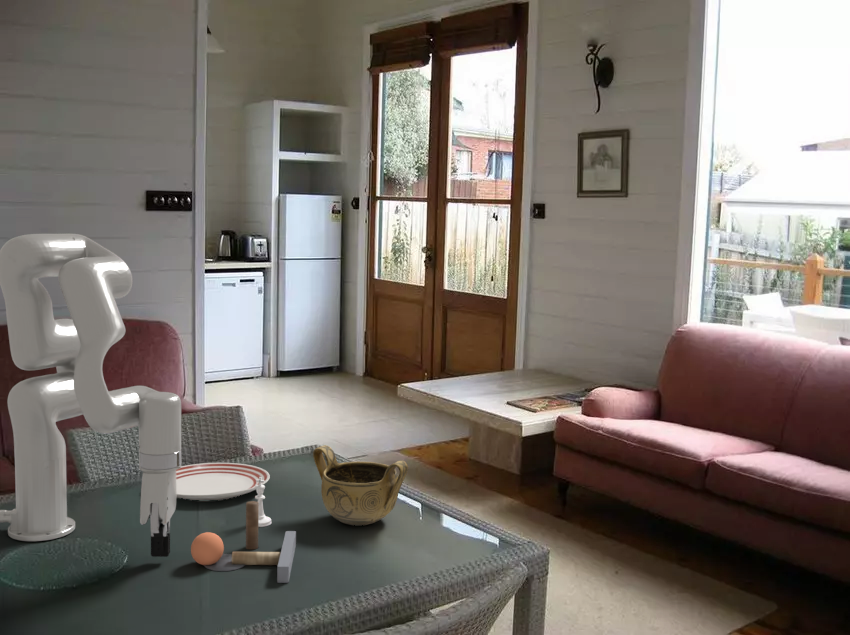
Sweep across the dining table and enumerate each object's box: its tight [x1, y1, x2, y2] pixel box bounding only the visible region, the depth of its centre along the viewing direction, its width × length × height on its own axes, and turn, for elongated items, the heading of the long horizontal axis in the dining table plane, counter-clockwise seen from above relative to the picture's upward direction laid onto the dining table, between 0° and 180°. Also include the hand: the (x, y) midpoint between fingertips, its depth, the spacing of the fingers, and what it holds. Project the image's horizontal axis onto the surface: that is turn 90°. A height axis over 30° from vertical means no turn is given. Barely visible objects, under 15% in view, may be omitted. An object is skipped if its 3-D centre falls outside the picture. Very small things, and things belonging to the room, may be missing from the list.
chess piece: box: [254, 477, 272, 528], centre depth 196 cm, size 5×5×10 cm
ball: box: [190, 531, 225, 566], centre depth 173 cm, size 6×6×6 cm
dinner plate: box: [176, 462, 271, 501], centre depth 218 cm, size 27×27×3 cm
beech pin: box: [231, 551, 281, 566], centre depth 174 cm, size 2×2×9 cm
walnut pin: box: [245, 500, 259, 551], centre depth 182 cm, size 2×2×9 cm
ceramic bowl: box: [312, 444, 409, 527], centre depth 199 cm, size 22×17×15 cm
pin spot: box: [203, 553, 246, 572], centre depth 174 cm, size 8×8×1 cm
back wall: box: [276, 530, 297, 584], centre depth 175 cm, size 2×18×3 cm, turn 4°
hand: (160, 554), depth 173 cm, fingers closed
